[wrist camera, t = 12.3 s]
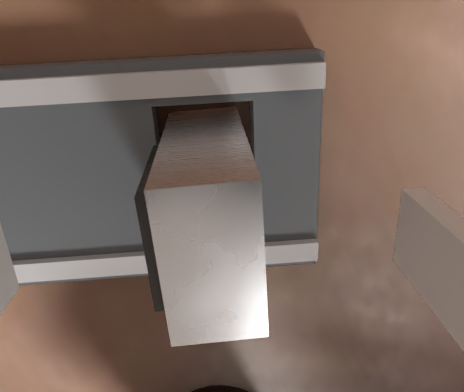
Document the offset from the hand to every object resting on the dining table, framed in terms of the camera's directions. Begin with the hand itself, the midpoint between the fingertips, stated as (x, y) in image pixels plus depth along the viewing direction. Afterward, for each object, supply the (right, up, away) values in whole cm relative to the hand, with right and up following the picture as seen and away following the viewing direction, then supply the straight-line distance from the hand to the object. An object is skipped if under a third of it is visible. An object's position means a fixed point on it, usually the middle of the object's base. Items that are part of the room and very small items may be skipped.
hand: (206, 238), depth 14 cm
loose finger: (0, +3, +6) cm, 7 cm away
